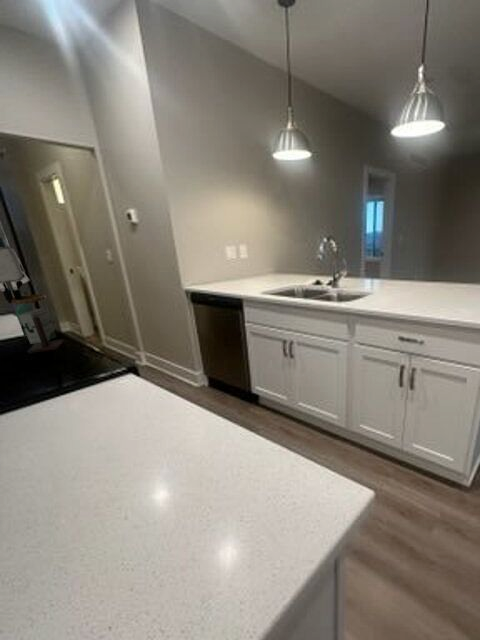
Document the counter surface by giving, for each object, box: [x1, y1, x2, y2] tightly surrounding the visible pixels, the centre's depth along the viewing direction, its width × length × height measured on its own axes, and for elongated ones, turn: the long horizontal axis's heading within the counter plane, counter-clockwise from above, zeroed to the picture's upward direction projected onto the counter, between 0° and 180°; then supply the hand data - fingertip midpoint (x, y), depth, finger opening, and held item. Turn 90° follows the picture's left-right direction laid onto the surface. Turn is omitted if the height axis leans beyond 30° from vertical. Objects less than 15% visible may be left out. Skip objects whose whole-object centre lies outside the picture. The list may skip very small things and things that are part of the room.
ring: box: [11, 294, 47, 304], centre depth 117 cm, size 9×9×1 cm
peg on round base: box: [26, 317, 65, 354], centre depth 122 cm, size 9×9×12 cm
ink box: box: [19, 307, 58, 345], centre depth 131 cm, size 9×5×12 cm, turn 178°
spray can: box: [11, 286, 33, 337], centre depth 138 cm, size 6×6×20 cm
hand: (15, 301), depth 116 cm, fingers closed on ring, 1 cm apart
